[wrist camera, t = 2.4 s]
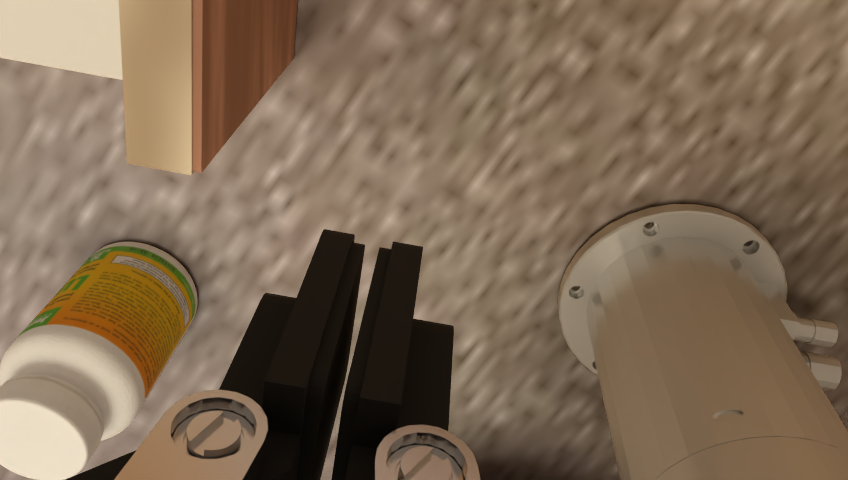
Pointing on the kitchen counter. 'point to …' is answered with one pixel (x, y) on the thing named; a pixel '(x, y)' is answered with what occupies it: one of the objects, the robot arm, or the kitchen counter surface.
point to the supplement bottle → (91, 358)
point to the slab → (197, 73)
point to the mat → (63, 34)
